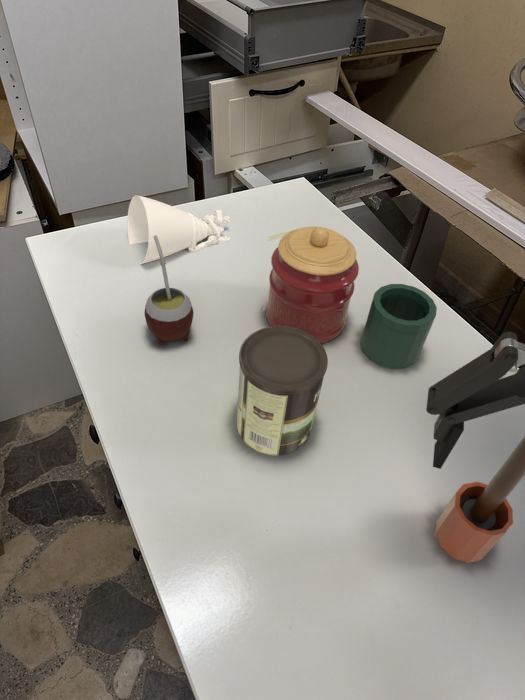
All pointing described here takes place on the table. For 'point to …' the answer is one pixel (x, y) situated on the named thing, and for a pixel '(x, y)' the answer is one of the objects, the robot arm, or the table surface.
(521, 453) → the brush
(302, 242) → the kitchen canister
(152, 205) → the rocket engine
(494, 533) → the holder
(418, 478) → the table surface
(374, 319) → the jar
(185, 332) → the mate gourd
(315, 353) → the coffee can
